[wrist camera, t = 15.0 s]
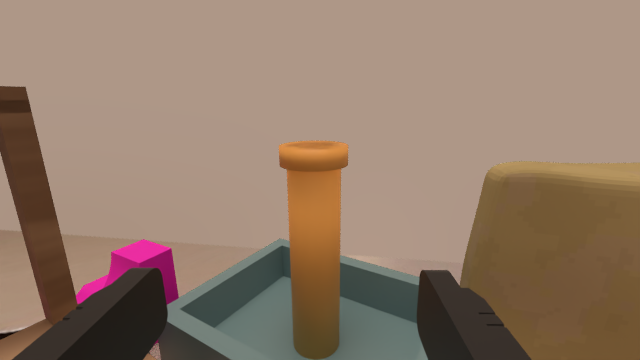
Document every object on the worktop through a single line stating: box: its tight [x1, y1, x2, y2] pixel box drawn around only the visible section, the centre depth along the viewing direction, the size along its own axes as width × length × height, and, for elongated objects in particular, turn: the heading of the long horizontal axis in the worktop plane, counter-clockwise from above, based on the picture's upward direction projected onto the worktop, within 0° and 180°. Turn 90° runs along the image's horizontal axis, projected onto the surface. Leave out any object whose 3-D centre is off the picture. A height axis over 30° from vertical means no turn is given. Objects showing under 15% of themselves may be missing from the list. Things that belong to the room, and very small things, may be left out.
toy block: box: [76, 239, 179, 345], centre depth 21 cm, size 15×6×8 cm, turn 151°
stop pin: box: [279, 141, 348, 360], centre depth 22 cm, size 4×4×15 cm
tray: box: [158, 239, 428, 360], centre depth 23 cm, size 18×14×4 cm
